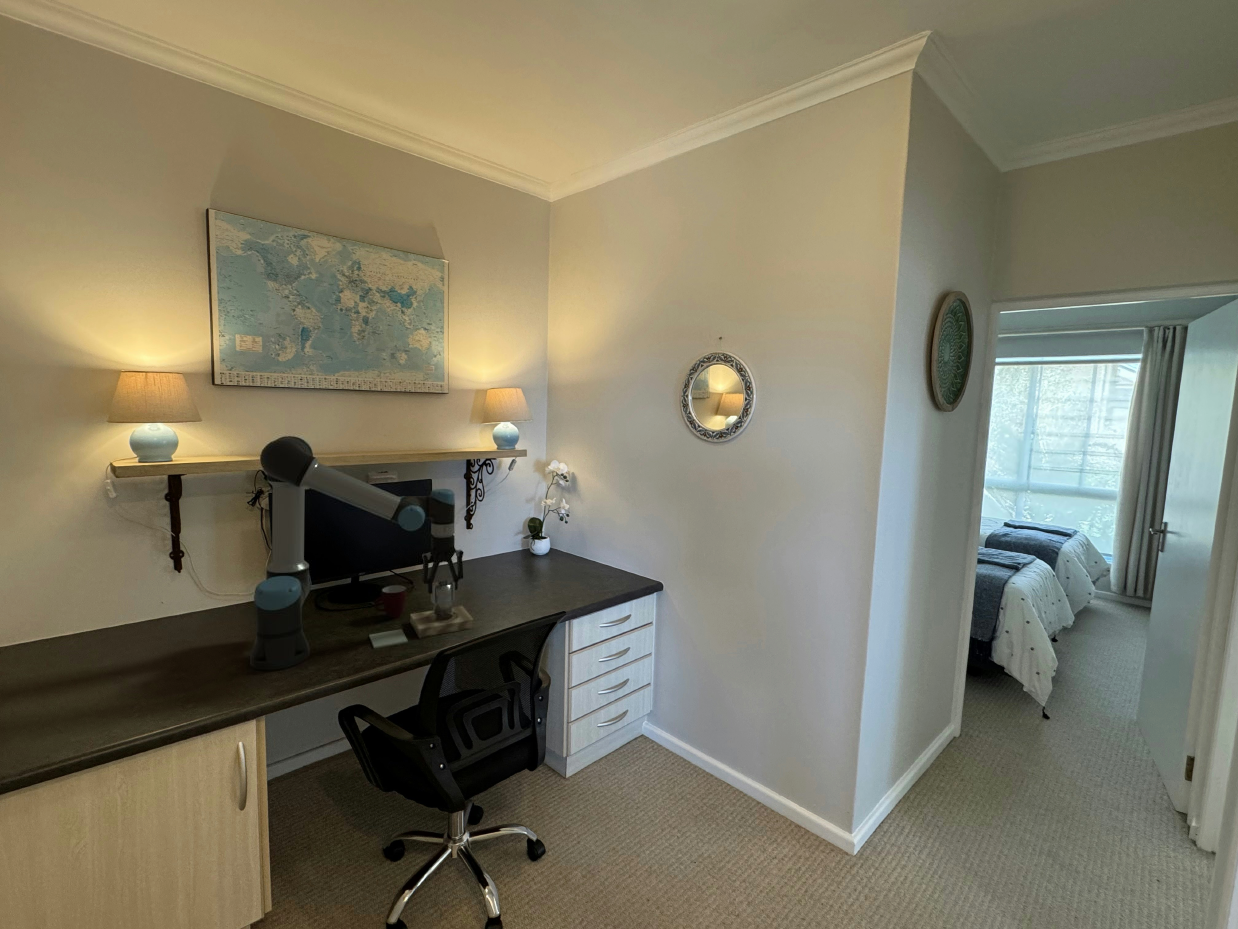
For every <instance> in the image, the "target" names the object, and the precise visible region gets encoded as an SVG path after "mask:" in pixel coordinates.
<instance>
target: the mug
mask: <svg viewBox="0 0 1238 929" xmlns="http://www.w3.org/2000/svg"><path fill="white" fill-rule="evenodd" d="M406 599H407V587H406V586H405V585H404V586H403V585H398V584H397V585H396V584H395V585H389V586H385V587H383V588H382V590H381V596H380V597H378V598H377V599H376V600H375V601H374V604H373V606H374V608H375V610H376V611H378V612H384V613H385V614H386V615H387V617H388V618H390V619H397V618H399V617H401V616H402V613H403V612H404V610H405V605H406ZM381 601H382V604H383V608H379V607H378V603H379V602H381Z"/></svg>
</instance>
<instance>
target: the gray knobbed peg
mask: <svg viewBox="0 0 1238 929" xmlns="http://www.w3.org/2000/svg"><path fill="white" fill-rule="evenodd" d="M433 583H434V584H435V603H434V604H433V610H434V614H435V615H448V614H450V613H451V612H452V607H453V600H452V583H451V581H448V580H446V579H440V580H438V581H436V582H433Z"/></svg>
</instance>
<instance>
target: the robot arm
mask: <svg viewBox="0 0 1238 929" xmlns="http://www.w3.org/2000/svg"><path fill="white" fill-rule="evenodd" d="M259 460H260V465H261V468H262V469H263V471H265V473H266V481H267V483H269V484H270V485H271V487H272V522H271V523H272V524H271V525H272V526H271V527H272V530H271V531H272V535H271V537H272V539H271V540H272V542H271V544H272V545H271V546H272V548H271V550H272V552H271V553H272V556H271V559H272V561H271V563H269V564H268V565H267V566H266V573H265V577H266V578H265V579H266V580H262V581H260V582H259V583H258V584H256V587H255V588H254V595H253V600H254V610H255V611H254V615H255V632H256V634H255V636H256V638H255V641H254V643H253V647H252V650H251V653H250V655H249V656H250V657H249V661H250V662H249V663H250V666H251V667H252V668H253V669H255V670H259V671H277V670H284V669H287V668H290V667H294V666H296V665H299V664H301V663H303V662H304V661H306V660H307V659H308V658H309V657H310V655H311V654H310V651H311V650H310V645H309V642H308V640H307V638H306V635H305V634H304V631H303V612H302V609H303V608H302V607H303V605H304V603H305V600H306V599H307V597H308V595H309V594H310V591H311V589H312V581H311V580H312V579H311V575H310V564H309V563H308V562H307V561H306V560H305V557H304V556H305V501H306V500H305V499H306V498H305V496H306V495H305V492H306V491H305V490H306V489H305V488H306V487H307V488H310V489H313V490H314V491H317V492H320V493H322V494H325V495H327V496H329V497H331V498H334V499H337V500H339V501H341V502H344V503H347V504H349V505H352V506H354V507H356V508H359V509H362V510H364V511H365V512H366V511H367V512H368V513H371V514H374V515H376V516H379V517H381V518H384V519H386V520H388V521H390V522H393V523H396V524H397V525H399V526H400V527H401V528H402V529H403V530H405V531H408V532H409V531H410V532H413V531H416V530H418V529H420V528H421V527H422V526H423V524H424V522H425V519H430V520H431V521H430V522H431V528H430V529H431V535H432V536H431V537H430V538H431V541H430V542H431V546H430V547H431V548H430V550H429V552H427V553H424V552H423V553H422V554H421V557H422V573H421V574H422V576H421V577H422V578H421V582H423V584H424V585H427V592H428V594H429V595H430V602H431V604H433V605H434V603H435V584H434V583H435V582H434V581H435V578H436V575H437V572H438V568H439V566H440V563H447V565H448V569H449V571H450V574H451V577H452V579H451V580H450V582H451V583H452V601H455V600H456V591H457V590H458V588H459V586H458V585H459V583H458V582H459V581H460V580H462V579H464V569H463V568H464V567H463V565H464V564H463V556H464V551H463V550H462V549H456V546H455V540H456V539H455V533H456V532H455V518H456V516H455V513H456V512H455V511H456V510H455V509H456V506H455V505H456V503H455V500H456V499H455V492H454V491H453V490H452V489H449V488H436V489H433V490H431V493H430V495H423V496H422V495H421V496H419V495H417V496H411V495H410V496H408V495H407V496H405V495H403V496H397V495H396V494H392V493H391V492H388V491H386V490H383V489H382V488H379V487H376V486H375V485H372V484H369V483H367V482H364V481H362V480H360V479H357V478H355V477H353V476H351V475H348V474H346V473H344V472H341V471H338V469H337V470H336V469H334V468H332V467H329V466H327V465H325V464H323V463H320V462H319V460H318V458H317V457H316V456H314V453H313V449H312V446H311V445H310V443H308V441H306V440H305V439H303V438H301V437H298V436H295V435H284V436H281V437H279V438H277V439H275V440H272V441H270V442H269V443H267V444H266V445H265V446H264V448H262V450H261V453H260V456H259ZM454 556H456V564H457V565H456V567H457V569H455V566H454V563H453V559H452V558H453V557H454ZM431 557H432V558H433V561H432V565H431V569H430V572H429V565H430V564H429V560H430V559H431ZM456 570H457V572H456Z"/></svg>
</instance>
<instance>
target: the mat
mask: <svg viewBox="0 0 1238 929" xmlns="http://www.w3.org/2000/svg"><path fill="white" fill-rule="evenodd" d="M368 636H369V639H370V643H371V644H372V647H373V649H374V650H376V649H380V648H386V647H391V646H396V645H401V644H407V643H409V642H408V639H407V637H406V635H405V633H404V631H403V629H395V630H389V631H384V632H379V633H373V634H369V635H368Z"/></svg>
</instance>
